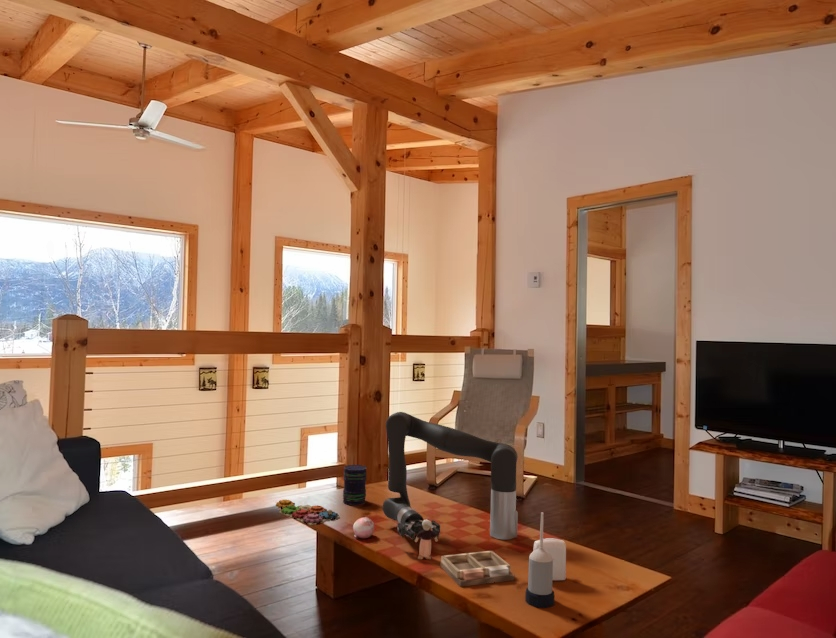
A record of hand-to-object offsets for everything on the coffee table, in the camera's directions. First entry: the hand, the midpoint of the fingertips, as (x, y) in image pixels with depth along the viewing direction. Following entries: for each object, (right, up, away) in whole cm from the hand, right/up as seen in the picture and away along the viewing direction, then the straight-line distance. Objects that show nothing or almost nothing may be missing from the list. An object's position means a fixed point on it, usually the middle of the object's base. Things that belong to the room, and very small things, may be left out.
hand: (425, 535), depth 205 cm
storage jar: (-30, -7, +61) cm, 68 cm away
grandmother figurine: (0, -7, -1) cm, 7 cm away
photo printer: (+38, -9, -15) cm, 42 cm away
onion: (-22, -7, +18) cm, 29 cm away
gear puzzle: (-49, -7, +44) cm, 66 cm away
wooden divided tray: (+16, -8, -12) cm, 21 cm away
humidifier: (+32, -8, -31) cm, 45 cm away
